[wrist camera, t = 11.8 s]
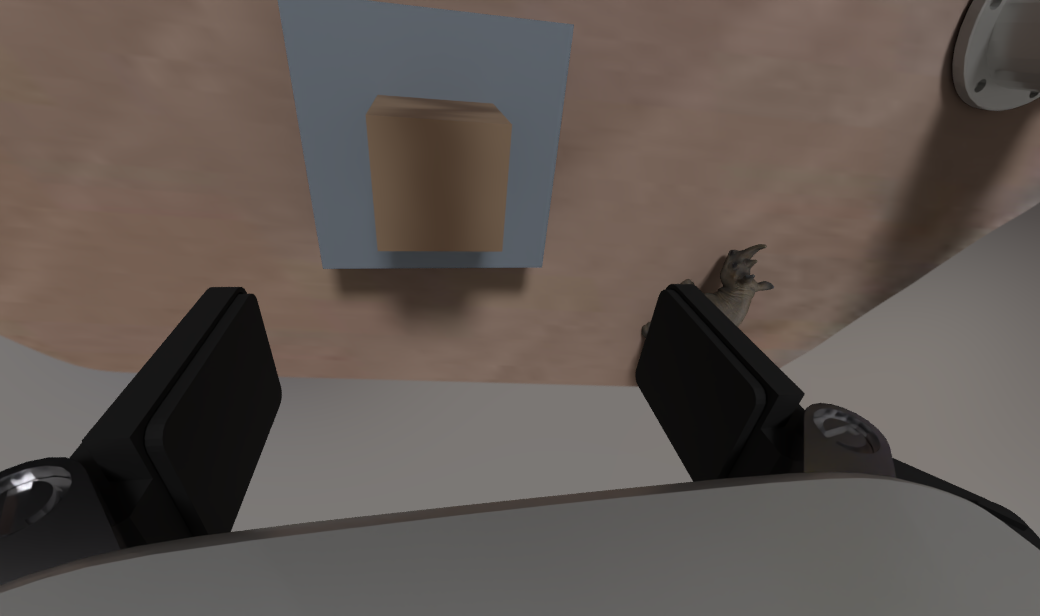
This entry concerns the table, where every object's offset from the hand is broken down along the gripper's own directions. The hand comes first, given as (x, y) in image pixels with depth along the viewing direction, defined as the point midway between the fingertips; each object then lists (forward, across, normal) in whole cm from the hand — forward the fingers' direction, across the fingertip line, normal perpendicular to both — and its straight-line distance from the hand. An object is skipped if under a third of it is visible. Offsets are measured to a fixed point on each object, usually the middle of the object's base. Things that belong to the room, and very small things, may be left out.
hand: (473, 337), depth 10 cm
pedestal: (+21, +1, 0) cm, 21 cm away
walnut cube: (+17, +1, 0) cm, 17 cm away
